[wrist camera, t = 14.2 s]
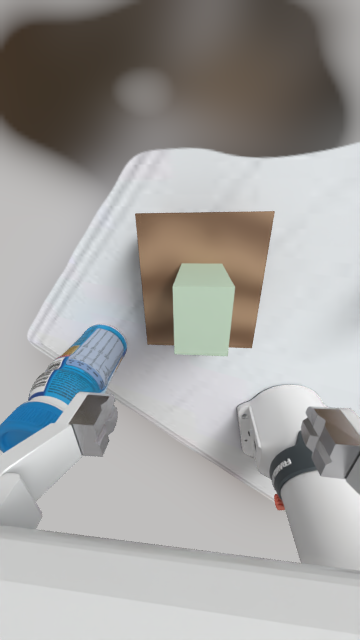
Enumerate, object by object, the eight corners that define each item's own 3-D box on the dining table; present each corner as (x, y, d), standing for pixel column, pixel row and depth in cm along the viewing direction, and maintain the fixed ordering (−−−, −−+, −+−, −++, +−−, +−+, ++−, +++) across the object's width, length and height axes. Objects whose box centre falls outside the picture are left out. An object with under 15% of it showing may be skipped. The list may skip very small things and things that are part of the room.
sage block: (222, 263, 23) (235, 287, 15) (218, 313, 25) (227, 356, 17) (181, 263, 23) (172, 286, 15) (181, 312, 26) (174, 354, 18)
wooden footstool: (240, 321, 34) (251, 348, 27) (157, 319, 35) (147, 344, 28) (254, 213, 27) (274, 211, 20) (151, 215, 28) (135, 213, 21)
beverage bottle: (130, 326, 37) (64, 429, 19) (127, 364, 40) (70, 479, 22) (83, 317, 37) (-28, 412, 19) (85, 356, 40) (-6, 465, 22)
